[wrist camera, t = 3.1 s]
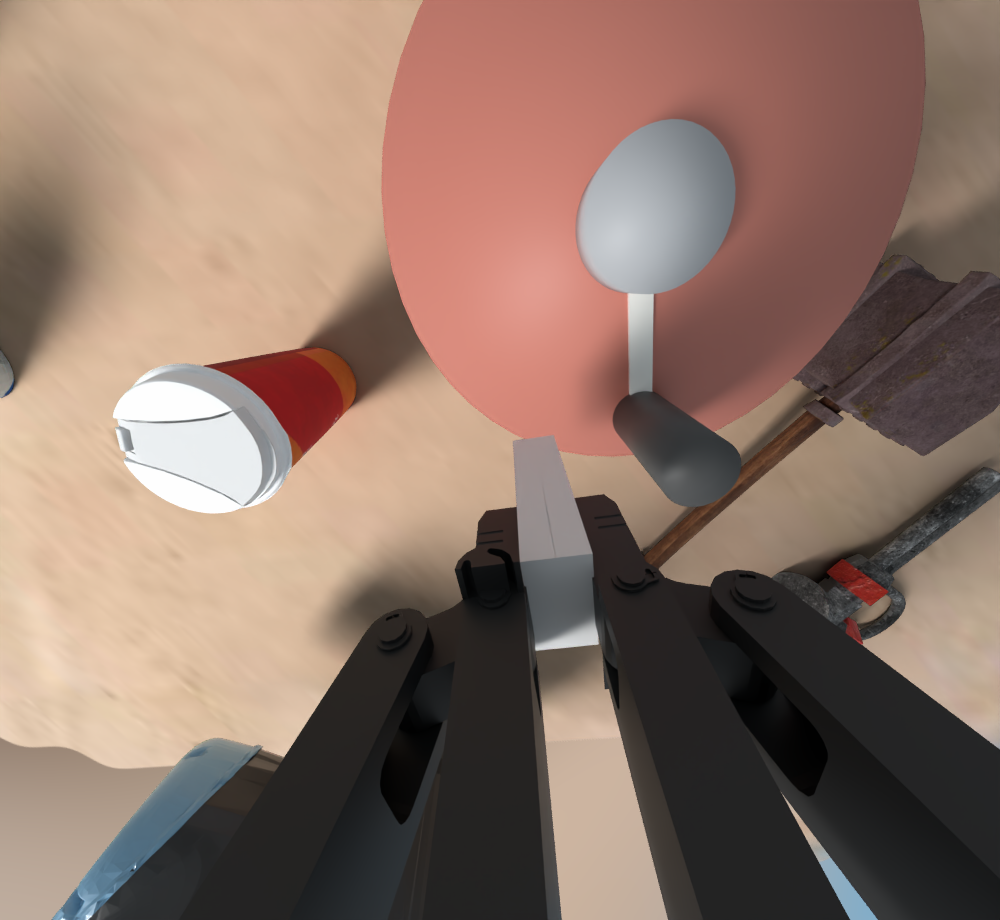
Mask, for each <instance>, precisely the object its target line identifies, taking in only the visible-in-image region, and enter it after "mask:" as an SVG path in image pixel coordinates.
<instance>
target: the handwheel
mask: <svg viewBox="0 0 1000 920" xmlns="http://www.w3.org/2000/svg"><path fill="white" fill-rule="evenodd" d="M925 84H926V80H925V50H924V33H923V26H922V20H921V14H920V8H919V2H918V0H423V2H422V4H421V6H420V8H419V10H418V12H417V15H416V18H415V20H414V23H413V26H412V28H411V31H410V34H409V36H408V39H407V42H406V44H405V47H404V50H403V52H402V55H401V58H400V62H399V66H398V70H397V74H396V78H395V82H394V86H393V90H392V93H391V97H390V101H389V107H388V114H387V121H386V129H385V136H384V143H383V157H382V204H383V216H384V228H385V235H386V241H387V246H388V251H389V256H390V261H391V267H392V271H393V274H394V277H395V280H396V283H397V287H398V290H399V293H400V296H401V299H402V303H403V305H404V307H405V309H406V312H407V314H408V316H409V318H410V321H411V323H412V325H413V327H414V330H415V332H416V334H417V336H418V337H419V339H420V341H421V342H422V344H423V346H424V347H425V349H426V351H427V352H428V354H429V356H430V358H431V359H432V361H433V362H434V363H435V365H436V366H437V367H438V369H439V370H440V371H441V372H442V374H443V375H444V376H445V378H446V379H447V380H448V381H449V383H450V384H451V385H452V386H453V387H454V388H455V389H456V390H457V391H458V392H459V393H460V394H461V395H462V396H463V397H464V398H465V399H466V400H467V401H468V402H469V403H470V404H471V405H472V406H474V407H475V408H476V409H477V410H479V411H480V412H481V413H483V414H484V415H485V416H486V417H488V418H489V419H490V420H491V421H493V422H495V423H496V424H498V425H500V426H502V427H503V428H505V429H507V430H508V431H510V432H512V433H513V434H515V435H518V436H520V437H522V438H524V439H529V438H536V437H543V436H550V435H554V438H555V441H556V444H557V447H558V450H559V451H563V452H569V453H575V454H581V455H588V456H625V455H635V457H636V458H637V459H638V461H639V462H640V463H641V464H642V466H643V467H644V468H645V469H646V471H647V472H648V473H649V474H650V476H651V477H652V478H653V480H654V481H655V482H656V483H657V485H658V486H659V487H660V488H661V490H662V491H663V492H664V493H665V495H666V496H667V497H668V498H669V499H670V500H671V501H673V502H674V503H676V504H678V505H682V506H686V507H699V506H704V505H707V504H710V503H713V502H715V501H717V500H718V499H720V498H721V497H723V496H724V495H725V494H727V493H728V492H729V491H730V490H731V488H732V487H733V486H734V485H735V483H736V481H737V479H738V477H739V475H740V471H741V458H740V455H739V453H738V451H737V450H736V448H735V447H734V446H733V445H732V444H730V443H729V442H728V441H726V440H725V439H723V438H722V437H720V436H719V435H717V434H716V433H714V431H716V430H718V429H720V428H722V427H724V426H726V425H727V424H729V423H731V422H733V421H735V420H736V419H738V418H740V417H742V416H743V415H745V414H747V413H748V412H750V411H751V410H752V409H754V408H755V407H757V406H758V405H759V404H761V403H762V402H764V401H765V400H767V399H768V398H769V397H771V396H772V395H773V394H775V393H776V392H777V391H778V390H779V389H780V388H782V387H783V386H784V385H785V384H786V383H787V382H789V381H790V380H791V379H792V378H793V377H794V376H796V375H797V374H798V373H799V372H800V371H801V370H802V369H803V367H804V366H805V365H806V364H807V363H808V362H809V361H810V360H811V359H812V358H813V357H814V356H815V355H816V354H817V353H818V352H819V351H820V350H821V349H822V348H823V346H824V345H825V344H826V343H827V341H828V340H829V339H830V338H831V336H832V335H833V334H834V333H835V331H836V330H837V329H838V328H839V326H840V325H841V324H842V323H843V321H844V320H845V318H846V317H847V315H848V314H849V312H850V311H851V309H852V308H853V306H854V305H855V303H856V302H857V300H858V299H859V297H860V296H861V294H862V293H863V291H864V290H865V288H866V286H867V284H868V282H869V281H870V279H871V277H872V275H873V273H874V271H875V269H876V267H877V266H878V264H879V262H880V260H881V258H882V256H883V254H884V252H885V250H886V247H887V245H888V243H889V240H890V238H891V235H892V233H893V231H894V228H895V226H896V223H897V221H898V219H899V216H900V214H901V210H902V207H903V204H904V201H905V197H906V194H907V191H908V187H909V184H910V181H911V178H912V174H913V170H914V165H915V160H916V155H917V150H918V145H919V140H920V135H921V130H922V119H923V107H924V95H925Z"/></svg>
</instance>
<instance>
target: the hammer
mask: <svg viewBox="0 0 1000 920" xmlns="http://www.w3.org/2000/svg"><path fill="white" fill-rule="evenodd" d="M793 379H795V380H797V381H799V380H800V381H801V382H803V383H802V384H803V385H804V386H806V387H807V388H812V389H814V392H816V393H817V394H819V395H820V396H822V395H823V396H824V397H823V398H822V399H820V400H819V401H818V400H816V399H815V400H813V401H812V402H810V403H809V404H807V405H805V406H803V407H804V408H805V409H806V410H807V411H806V412H805V413H804V414H803V415H802V416H800V417H799V418H798V419H797V420H796V421H795V422H793V423H792V424H791V425H790V426H789V427H788V428H786V429H785V430H784V431H783V432H782V433H781V434H779V435H778V436H777V437H776V438H775V439H774V440H772V441H771V442H770V443H769V444H768V445H767V446H765V447H764V448H763V449H762V450H761V451H760V452H759V453H757V454H756V455H755V456H754V457H753V458H752V459H751V460H749V461H748V462H747V463H746V464H745V465H744V466H743V467H741V471H740V475H739V477H738V479H737V481H736V483H735V485H734V486H733V487H732V488H731V490H730V491H729V492H728V493H727V494H725V495H724V496H723V497H721V498H720V499H718V500H717V501H715V502H713V503H710V504H707V505H704V506H699V507H697V508H696V509H694V510H693V511H692V512H691V513H690V514H689V515H688V516H687V517H686V518H685V519H684V520H682V521H681V522H680V523H679V524H678V525H677V526H676V527H675V528H674V529H673V530H672V531H671V532H669V533H668V534H667V535H666V536H665V537H664V538H663V539H662V540H661V541H660V542H659V543H658V544H657V545H655V546H654V547H653V548H652V549H651V550H650V551H649V552H648V553H647V554H646V555H643V557H644V559H645V561H646V562H647V563H649V564H651V565H653V566H654V567H656V568H657V569H658V568H660V567H661V566H662V565H663V564H664V563H665V562H666V561H667V560H668V559H669V558H670V557H671V556H672V555H673V554H674V553H676V552H677V551H678V550H679V549H680V548H681V547H682V546H683V545H684V544H686V543H687V542H688V541H689V540H690V539H691V538H692V537H693V536H694V535H696V534H697V533H698V532H699V531H700V530H701V529H702V528H703V527H705V526H706V525H707V524H708V523H709V522H710V521H711V520H713V519H714V518H715V517H716V516H717V515H718V514H719V513H721V512H722V511H723V510H724V509H725V508H726V507H728V506H729V505H730V504H731V503H732V502H733V501H734V500H736V499H737V498H738V497H739V496H740V495H741V494H743V493H744V492H745V491H746V490H747V489H748V488H749V487H751V486H752V485H753V484H754V483H755V482H756V481H758V480H759V479H760V478H761V477H762V476H763V475H765V474H766V473H767V472H768V471H769V470H770V469H772V468H773V467H774V466H775V465H776V464H778V463H779V462H780V461H781V460H782V459H784V458H785V457H786V456H787V455H788V454H789V453H791V452H792V451H793V450H794V449H795V448H797V447H798V446H799V445H800V444H801V443H803V442H804V441H805V440H806V439H807V438H809V437H810V436H811V435H812V434H813V433H815V432H816V431H817V430H818V429H819V428H821V427H822V426H823V425H824V424H827V425H829V426H831V427H834V426H835V425H837V424H838V423H839V422H841V421H842V420H843V417H841V416H840V415H839V414H838V413H839V412H840V411H841V410H843V411H845V412H847V413H851V414H852V415H853V417H855V418H856V419H858V420H859V421H862V422H863V421H864V422H865V423H866V425H867V426H869V427H870V428H872V429H873V430H878V431H879V432H880V434H882V435H883V436H884V437H886V438H888V439H892V440H894V441H895V442H897V443H898V444H900V445H902V446H904V445H906V446H908V447H909V448H911V449H912V450H914V451H915V452H917V453H918V454H920V455H922V456H925V455H927V454H928V453H930V452H931V451H933V450H935V449H936V448H938V447H939V446H941V445H942V444H944V443H945V442H947V441H949V440H950V439H952V438H953V437H955V436H956V435H958V434H959V433H961V432H962V431H964V430H965V429H967V428H969V427H970V426H972V425H973V424H975V423H976V422H978V421H979V420H981V419H982V418H984V417H985V416H987V415H988V414H990V413H991V412H993V411H994V410H995V409H996V407H997V406H998V405H999V404H1000V279H999V278H998V277H997V276H995V275H994V274H992V273H990V272H974V271H970V272H969V274H968V275H967V276H966V277H965V278H964V279H963V280H962V281H961V282H960V283H959V284H957V283H951V282H943V281H939V280H938V279H936V278H935V276H934V275H933V274H931V273H929V272H927V271H926V270H925V269H924V268H923V266H921V265H919V264H917V263H916V262H915V261H913V260H912V259H911V258H909V257H908V256H906V255H893V256H892V257H891V258H889V259H888V260H887V261H886V262H885V263H884V264H883V263H881V262H879V264H878V266H877V267H876V269H875V271H874V273H873V275H872V277H871V279H870V281H869V282H868V284H867V286H866V288H865V290H864V291H863V293H862V294H861V296H860V297H859V299H858V300H857V302H856V303H855V305H854V306H853V308H852V309H851V311H850V312H849V314H848V315H847V317H846V318H845V320H844V321H843V323H842V324H841V325H840V326H839V328H838V329H837V330H836V331H835V333H834V334H833V335H832V336H831V338H830V339H829V340H828V341H827V343H826V344H825V345H824V346H823V348H822V349H821V350H820V351H819V352H818V353H817V354H816V355H815V356H814V357H813V358H812V359H811V360H810V361H809V362H808V363H807V364H806V365H805V366H804V367H803V369H802V370H801V371H800V372H799V373H798V374H797V375H796V376H794V377H793ZM658 570H659V569H658Z"/></svg>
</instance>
